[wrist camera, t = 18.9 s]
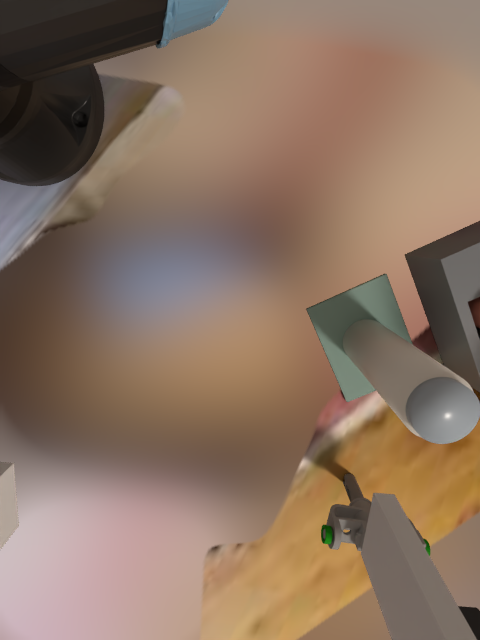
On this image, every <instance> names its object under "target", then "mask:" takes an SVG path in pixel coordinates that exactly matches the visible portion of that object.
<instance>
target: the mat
mask: <svg viewBox="0 0 480 640" xmlns="http://www.w3.org/2000/svg"><path fill="white" fill-rule="evenodd" d="M307 312H308V314H309V316H310V319H311V321H312V323H313V325H314V328H315V330H316V332H317V335H318V337H319V340H320V342H321V344H322V346H323V349H324V351H325V353H326V356H327V358H328V360H329V363H330V365H331V367H332V369H333V372H334V374H335V376H336V379H337V381H338V383H339V386H340V388H341V390H342V392H343V395H344V397H345V399H346V401H347V402H349V401H351V400H354V399H356V398H359V397H361V396H364V395H366V394H369V393H371V392H373V391H376V390H375V388H374V387H373V386H372V385H371V384H370V382H369V381H368V380H367V379H366V377H365V376H364V375H363V374H362V373H361V371H360V370H359V369H358V368H357V367H356V365H355V364H354V363H353V362H352V361H351V359H350V358H349V357H348V356H347V355H346V353H345V351H344V349H343V336H344V334H345V332H346V330H347V329H348V328H349V327H350V326H351V325H352V324H353V323H355V322H357V321H359V320H363V319H371V320H375V321H377V322H379V323H381V324H382V325H384V326H385V327H387V328H388V329H390V330H391V331H393V332H394V333H396V334H397V335H399V336H400V337H402V338H403V339H405V340H406V341H408V342H409V343H411V344H412V341H411V339H410V336H409V334H408V331H407V328H406V325H405V323H404V320H403V317H402V314H401V312H400V309H399V306H398V304H397V301H396V298H395V296H394V293H393V290H392V288H391V285H390V282H389V279H388V277H387V274H383V275H381V276H379V277H376V278H374V279H372V280H370V281H367V282H365V283H363V284H361V285H358V286H356V287H354V288H352V289H349V290H347V291H345V292H343V293H340V294H338V295H336V296H334V297H332V298H329V299H327V300H325V301H323V302H320V303H319V304H316V305H314V306H311V307H309V308H307ZM412 345H413V344H412Z"/></svg>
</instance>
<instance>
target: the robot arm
mask: <svg viewBox="0 0 480 640" xmlns="http://www.w3.org/2000/svg"><path fill="white" fill-rule="evenodd" d="M227 3H228V0H0V179H1V180H4V181H7V182H12V183H17V184H21V185H27V186H45V185H51V184H54V183H58V182H60V181H63V180H65V179H67V178H69V177H70V176H72V175H73V174H75V173H76V172H77V171H79V170H80V169H81V168H82V167H83V166H84V165H85V164H86V162H87V161H88V160H89V158H90V157H91V156H92V154H93V152H94V150H95V148H96V146H97V144H98V142H99V139H100V136H101V132H102V128H103V122H104V98H103V92H102V87H101V83H100V79H99V76H98V74H97V71H96V69H95V66H94V64H93V63H97V62H100V61H103V60H107V59H110V58H113V57H116V56H120V55H123V54H127V53H130V52H133V51H136V50H140V49H143V48H147V47H150V46H153V45H156V47H157V48H162V47H165V46H167V44H168V43H169V41H170V40H172V39H175V38H177V37H180V36H183V35H186V34H188V33H191V32H194V31H197V30H200V29H202V28H205V27H207V26H210V25H211V24H213V23H214V22H215V21H216V20H217V19H218V18H219V17H220V16H221V14H222V12H223V11H224V9H225V7H226V5H227ZM18 526H19V522H18V510H17V497H16V485H15V473H14V463H6V462H0V550H1V548H2V547H3V546H4V544H5V543H6V542H7V541H8V539H9V538H10V537H11V535H12V534H13V533H14V532H15V530H16V529H17V528H18ZM361 555H362V558H363V561H364V564H365V566H366V569H367V572H368V575H369V578H370V580H371V583H372V586H373V589H374V591H375V594H376V597H377V600H378V602H379V605H380V608H381V611H382V613H383V616H384V619H385V622H386V625H387V628H388V630H389V633H390V636H391V638H392V640H480V611H479V610H478V609H477V608H472V607H459V606H458V605H457V604H456V602H455V600H454V598H453V597H452V595H451V593H450V591H449V590H448V588H447V586H446V584H445V583H444V581H443V579H442V577H441V575H440V574H439V572H438V570H437V568H436V567H435V565H434V563H433V561H432V560H431V558H430V556H429V554H428V553H427V551H426V549H425V547H424V546H423V544H422V542H421V540H420V539H419V537H418V535H417V533H416V532H415V530H414V528H413V526H412V525H411V523H410V521H409V519H408V518H407V516H406V514H405V512H404V511H403V509H402V507H401V505H400V504H399V502H398V500H397V498H396V496H395V495H394V494H381V493H373V498H372V503H371V508H370V512H369V517H368V522H367V527H366V532H365V537H364V542H363V546H362V551H361Z"/></svg>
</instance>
